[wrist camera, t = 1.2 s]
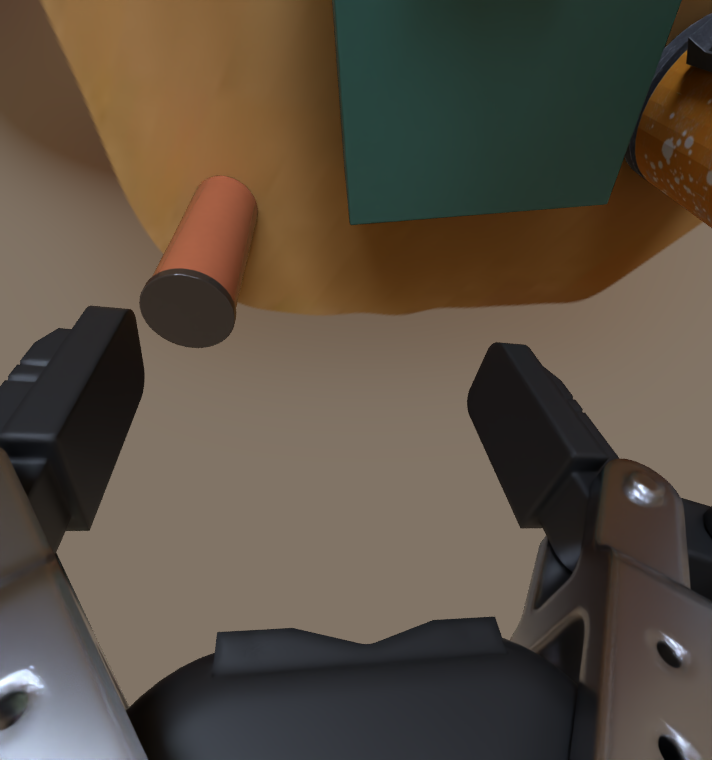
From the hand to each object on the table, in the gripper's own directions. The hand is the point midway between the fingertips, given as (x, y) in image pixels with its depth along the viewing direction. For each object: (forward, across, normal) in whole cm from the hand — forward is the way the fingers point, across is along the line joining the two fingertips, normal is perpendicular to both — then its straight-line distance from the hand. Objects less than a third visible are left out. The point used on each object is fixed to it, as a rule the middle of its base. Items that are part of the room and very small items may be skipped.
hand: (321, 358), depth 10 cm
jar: (+23, +5, +5) cm, 24 cm away
